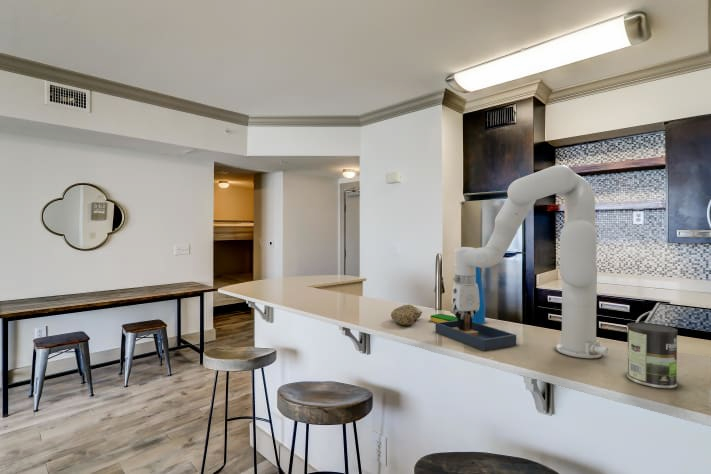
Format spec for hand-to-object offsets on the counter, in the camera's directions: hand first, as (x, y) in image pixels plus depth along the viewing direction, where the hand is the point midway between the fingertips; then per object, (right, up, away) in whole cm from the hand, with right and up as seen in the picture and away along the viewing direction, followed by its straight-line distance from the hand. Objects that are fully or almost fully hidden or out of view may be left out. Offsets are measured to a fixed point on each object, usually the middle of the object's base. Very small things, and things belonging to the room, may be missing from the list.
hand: (464, 328), depth 141 cm
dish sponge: (-1, -3, +20) cm, 20 cm away
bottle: (+11, -3, +21) cm, 24 cm away
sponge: (-19, -3, +20) cm, 28 cm away
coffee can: (+36, -3, -43) cm, 56 cm away
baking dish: (+2, -3, -4) cm, 5 cm away
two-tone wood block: (0, -2, 0) cm, 2 cm away
